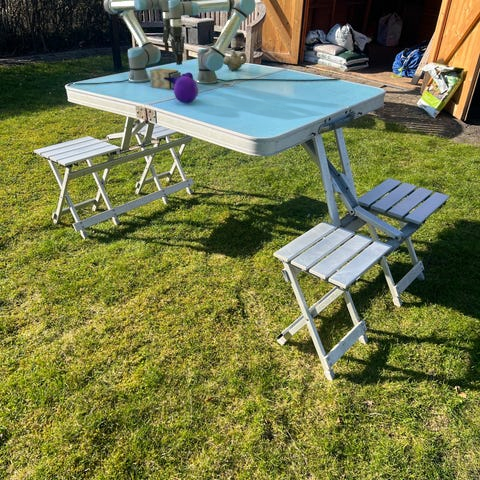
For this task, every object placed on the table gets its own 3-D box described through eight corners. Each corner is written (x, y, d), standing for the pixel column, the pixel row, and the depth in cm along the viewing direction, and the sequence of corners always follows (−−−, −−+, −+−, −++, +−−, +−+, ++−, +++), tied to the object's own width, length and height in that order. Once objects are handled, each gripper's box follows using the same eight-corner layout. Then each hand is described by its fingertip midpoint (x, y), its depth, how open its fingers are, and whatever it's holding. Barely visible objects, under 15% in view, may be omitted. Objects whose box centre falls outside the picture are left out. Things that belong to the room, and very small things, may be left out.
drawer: (188, 86, 314) (187, 72, 310) (179, 89, 308) (178, 75, 303) (164, 83, 325) (163, 70, 321) (155, 85, 319) (154, 72, 314)
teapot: (227, 72, 362) (226, 52, 355) (220, 70, 371) (219, 51, 363) (249, 69, 371) (249, 50, 364) (242, 67, 380) (242, 48, 372)
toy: (187, 94, 295) (198, 108, 275) (161, 90, 288) (170, 104, 267) (192, 70, 287) (203, 83, 267) (165, 65, 280) (175, 77, 259)
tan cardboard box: (179, 86, 319) (178, 70, 314) (169, 89, 312) (168, 72, 306) (161, 84, 328) (159, 68, 322) (151, 86, 321) (149, 70, 315)
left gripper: (165, 20, 304) (168, 53, 315) (180, 17, 324) (182, 48, 335) (155, 20, 306) (159, 53, 316) (170, 17, 326) (173, 48, 337)
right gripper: (173, 27, 286) (176, 66, 298) (187, 25, 296) (190, 63, 308) (164, 27, 289) (168, 65, 301) (179, 25, 300) (182, 62, 312)
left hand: (171, 51), depth 326 cm, fingers open, 13 cm apart
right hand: (179, 64), depth 305 cm, fingers closed
